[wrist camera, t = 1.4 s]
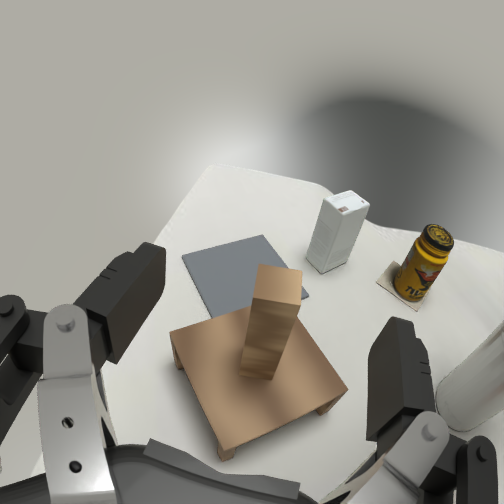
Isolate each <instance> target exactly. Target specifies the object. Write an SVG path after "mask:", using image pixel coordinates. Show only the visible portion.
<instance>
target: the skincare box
mask: <svg viewBox="0 0 504 504" xmlns="http://www.w3.org/2000/svg"><path fill="white" fill-rule="evenodd" d="M369 207H370V204H369V203H368V202H366V201H365V200H363V199H362V198H361V197H360V196H358V195H357V194H356V193H354V192H353V191H351V190H350V191H346V192H343V193H340V194H337V195H333V196H330V197H327V198H324V199H323V203H322V206H321V210H320V213H319V216H318V219H317V223H316V226H315V229H314V232H313V236H312V239H311V242H310V245H309V249H308V252H307V255H306V258H307V260H308V261H309V262H310V263H311V264H312V265H313V266H314V267H315V268H316V269H317V270H318V271H319V272H320V273H321V274H323V273H325V272H327V271H329V270H331V269H333V268H335V267H337V266H339V265H341V264H343V263H345V262H347V260H348V258H349V255H350V253H351V251H352V248H353V246H354V244H355V241H356V239H357V236H358V234H359V231H360V229H361V227H362V224H363V222H364V219H365V217H366V214H367V211H368V209H369Z"/></svg>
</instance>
